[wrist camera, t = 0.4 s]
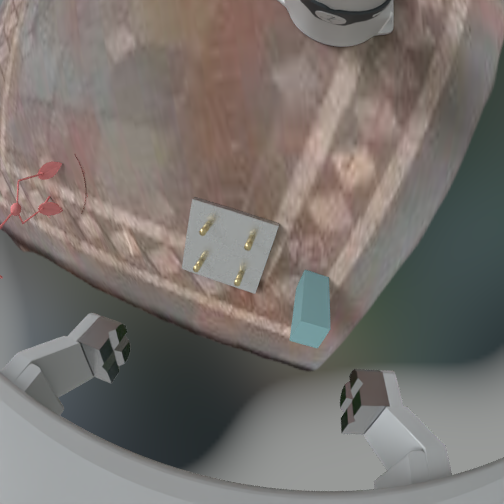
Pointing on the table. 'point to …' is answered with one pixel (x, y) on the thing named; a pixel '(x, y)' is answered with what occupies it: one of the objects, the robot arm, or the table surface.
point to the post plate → (227, 244)
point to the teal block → (311, 310)
